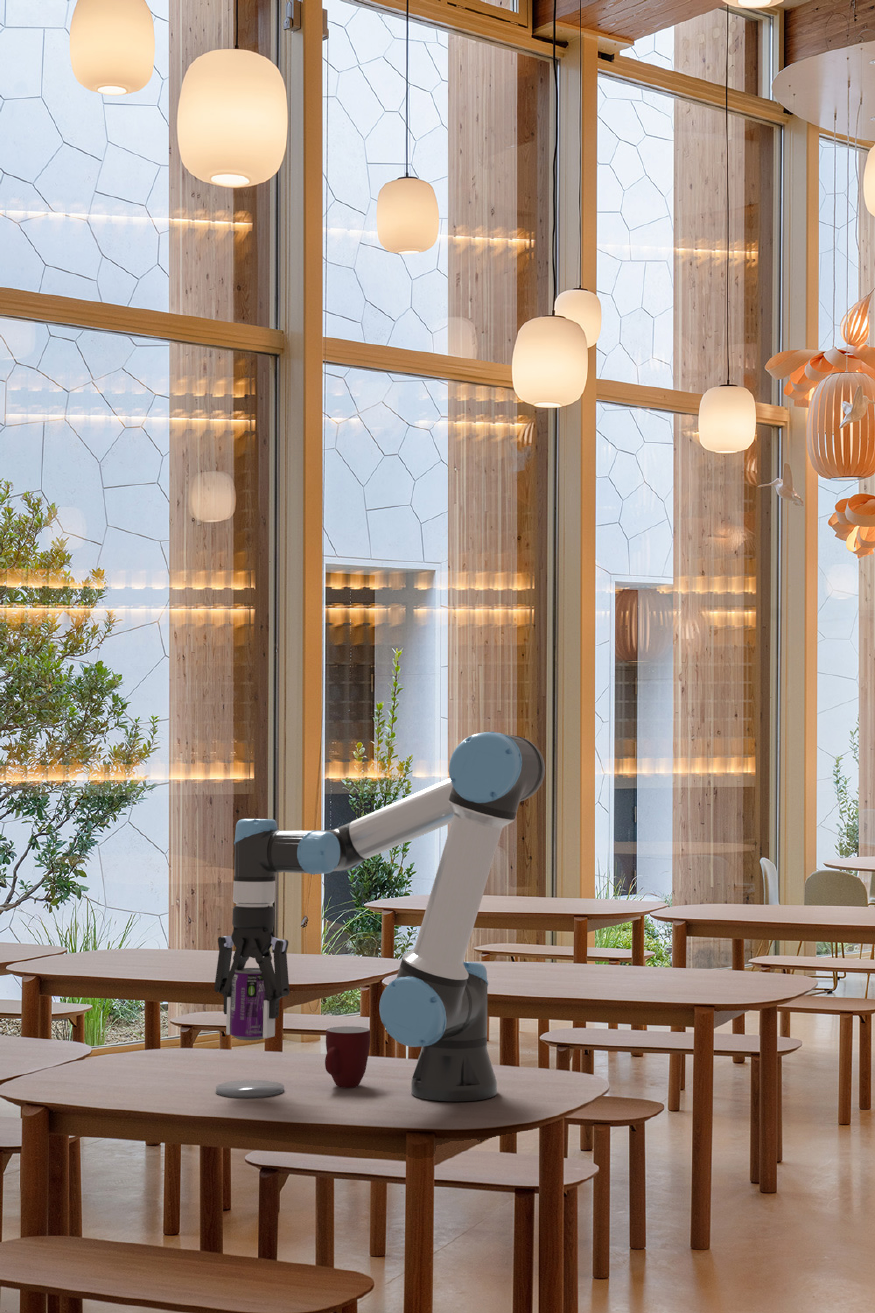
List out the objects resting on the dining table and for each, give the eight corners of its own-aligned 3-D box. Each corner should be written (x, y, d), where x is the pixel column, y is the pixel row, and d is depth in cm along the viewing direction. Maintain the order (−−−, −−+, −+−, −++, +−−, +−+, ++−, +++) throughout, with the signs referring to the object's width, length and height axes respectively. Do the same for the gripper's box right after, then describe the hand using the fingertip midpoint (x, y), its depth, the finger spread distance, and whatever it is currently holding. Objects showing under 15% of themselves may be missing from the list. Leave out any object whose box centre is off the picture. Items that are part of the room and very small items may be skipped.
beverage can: (259, 1042, 244) (261, 972, 246) (223, 1040, 247) (225, 970, 248) (276, 1036, 251) (278, 968, 252) (241, 1034, 253) (243, 966, 255)
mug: (351, 1094, 246) (352, 1036, 247) (310, 1090, 249) (311, 1033, 250) (377, 1084, 255) (377, 1028, 256) (337, 1080, 258) (338, 1025, 259)
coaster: (296, 1088, 250) (296, 1084, 251) (259, 1100, 240) (259, 1095, 240) (240, 1082, 256) (240, 1078, 256) (202, 1094, 245) (202, 1089, 245)
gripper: (312, 906, 250) (309, 1037, 248) (219, 901, 259) (216, 1028, 257) (289, 908, 244) (286, 1043, 241) (195, 903, 252) (191, 1033, 250)
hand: (250, 1035), depth 249 cm, fingers closed on beverage can, 7 cm apart
